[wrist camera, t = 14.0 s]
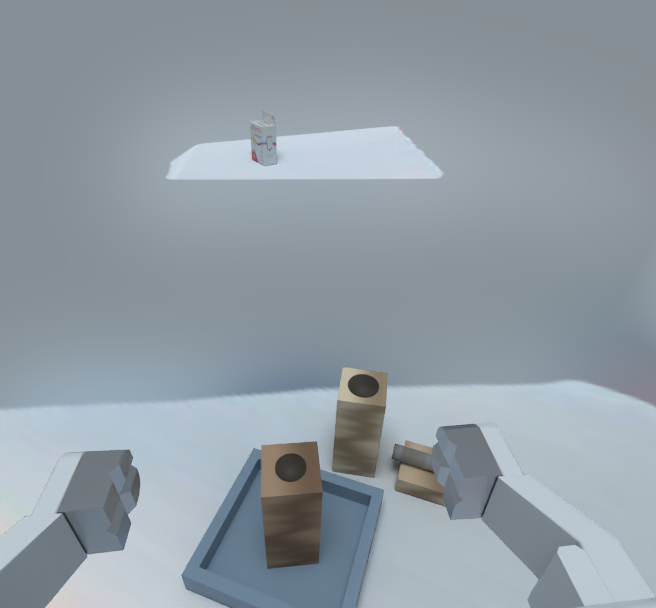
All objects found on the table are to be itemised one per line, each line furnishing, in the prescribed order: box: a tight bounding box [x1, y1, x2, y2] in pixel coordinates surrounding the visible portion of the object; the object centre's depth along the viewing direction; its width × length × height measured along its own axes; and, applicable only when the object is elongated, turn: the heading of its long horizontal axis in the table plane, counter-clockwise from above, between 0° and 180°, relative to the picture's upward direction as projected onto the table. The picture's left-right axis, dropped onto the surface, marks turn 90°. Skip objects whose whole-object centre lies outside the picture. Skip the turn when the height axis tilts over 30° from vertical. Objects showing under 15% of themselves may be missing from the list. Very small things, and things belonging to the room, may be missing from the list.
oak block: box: [332, 367, 387, 478], centre depth 44 cm, size 4×4×11 cm
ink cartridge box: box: [250, 110, 277, 166], centre depth 133 cm, size 9×5×15 cm, turn 35°
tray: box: [182, 448, 384, 608], centre depth 39 cm, size 14×13×2 cm
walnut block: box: [261, 442, 323, 569], centre depth 36 cm, size 4×4×11 cm
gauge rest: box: [392, 441, 445, 506], centre depth 44 cm, size 10×5×4 cm, turn 71°
